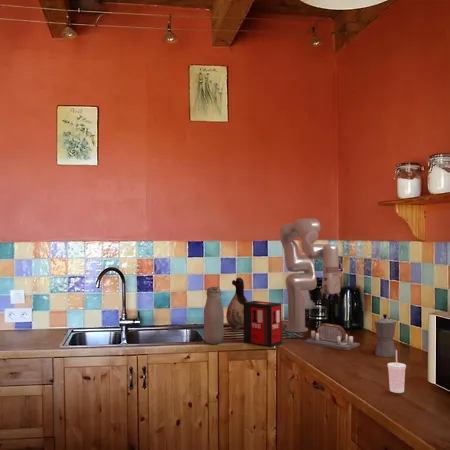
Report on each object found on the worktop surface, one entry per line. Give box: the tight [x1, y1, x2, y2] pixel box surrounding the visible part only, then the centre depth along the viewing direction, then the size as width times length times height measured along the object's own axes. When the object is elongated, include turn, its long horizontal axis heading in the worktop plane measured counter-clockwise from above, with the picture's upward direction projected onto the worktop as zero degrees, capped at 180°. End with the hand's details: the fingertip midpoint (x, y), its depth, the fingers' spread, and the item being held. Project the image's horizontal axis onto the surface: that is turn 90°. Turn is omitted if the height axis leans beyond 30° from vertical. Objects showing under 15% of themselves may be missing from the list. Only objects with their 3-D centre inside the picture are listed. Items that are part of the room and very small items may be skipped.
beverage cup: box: [387, 349, 407, 394], centre depth 177 cm, size 6×6×14 cm
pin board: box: [304, 330, 360, 351], centre depth 250 cm, size 24×12×5 cm, turn 47°
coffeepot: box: [374, 314, 397, 358], centre depth 229 cm, size 15×9×18 cm, turn 150°
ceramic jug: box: [225, 277, 249, 333], centre depth 288 cm, size 17×15×30 cm
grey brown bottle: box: [203, 286, 225, 345], centre depth 254 cm, size 10×10×28 cm
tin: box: [316, 322, 347, 343], centre depth 250 cm, size 15×3×8 cm, turn 47°
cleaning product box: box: [243, 300, 283, 348], centre depth 254 cm, size 16×9×20 cm, turn 51°
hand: (330, 305), depth 251 cm, fingers open, 9 cm apart
